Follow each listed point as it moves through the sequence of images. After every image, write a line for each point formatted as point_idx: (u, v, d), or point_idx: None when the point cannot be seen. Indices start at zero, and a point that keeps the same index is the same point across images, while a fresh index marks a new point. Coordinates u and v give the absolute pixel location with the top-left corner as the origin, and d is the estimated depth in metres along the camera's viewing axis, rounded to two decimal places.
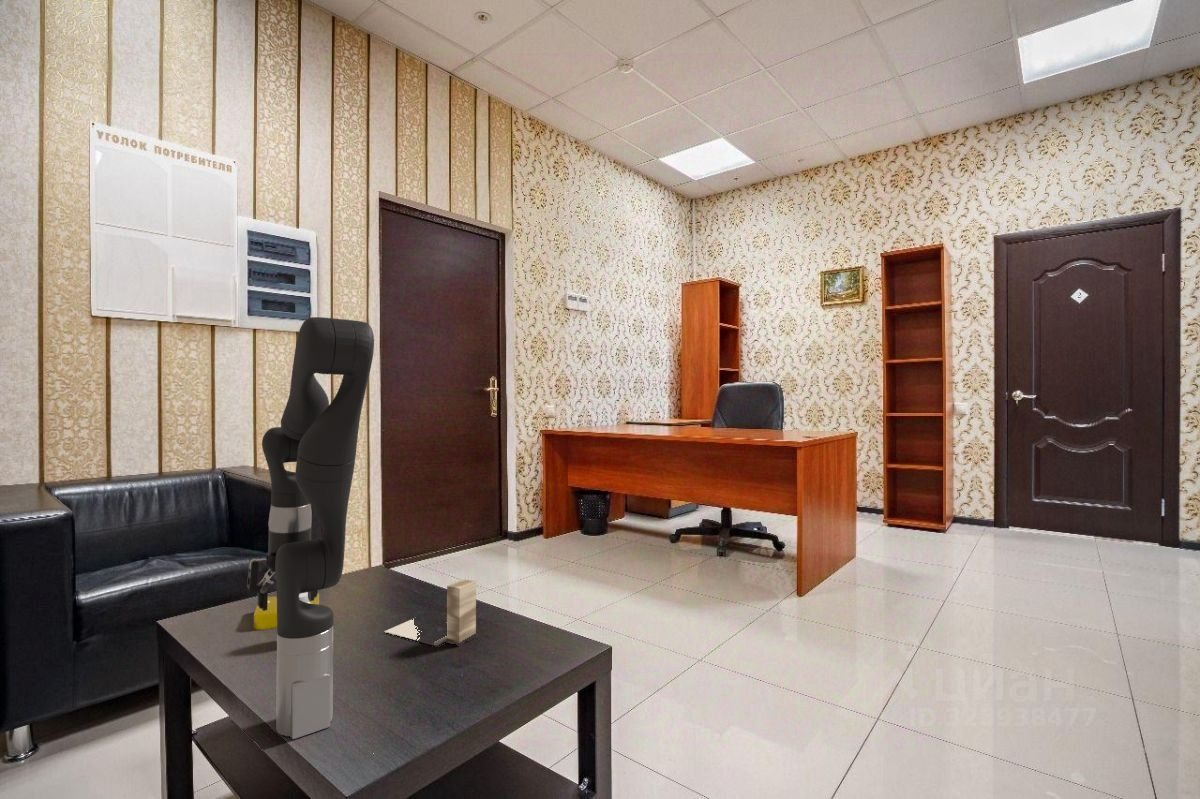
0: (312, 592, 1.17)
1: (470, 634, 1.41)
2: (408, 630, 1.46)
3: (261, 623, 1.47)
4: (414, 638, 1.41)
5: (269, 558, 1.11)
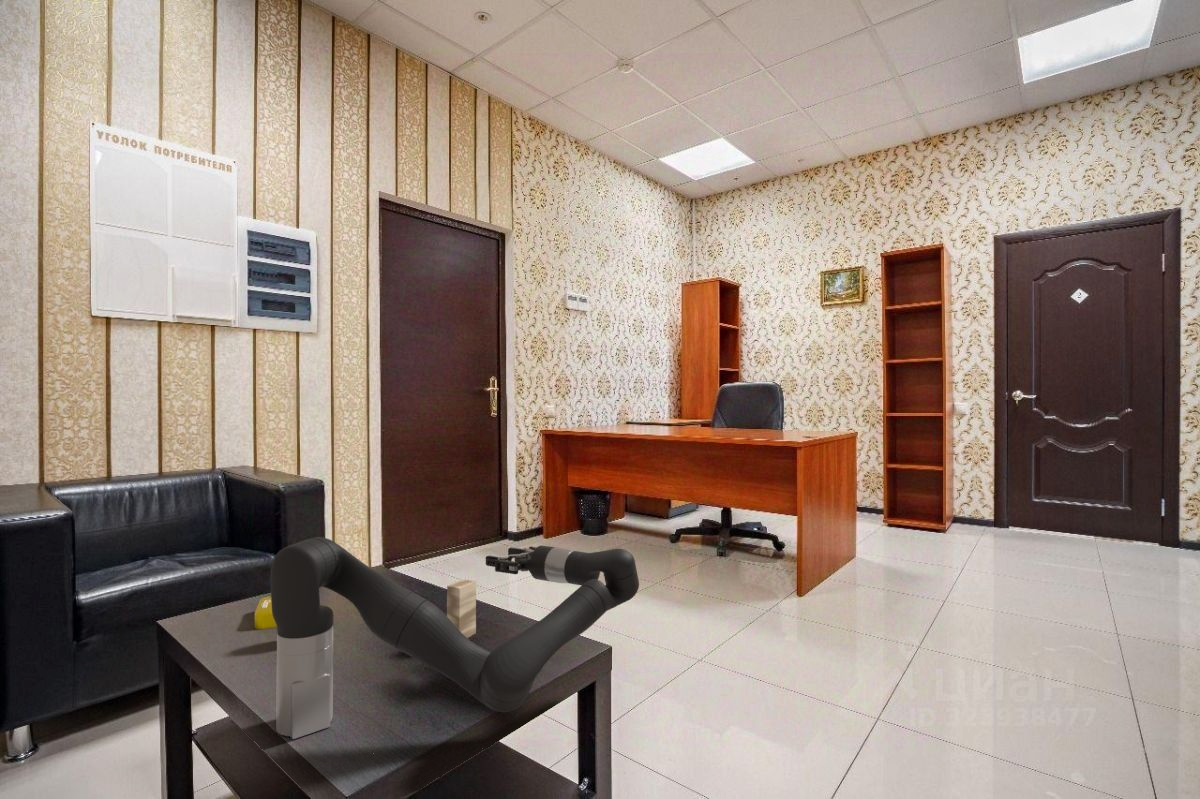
0: None
1: (470, 634, 1.41)
2: None
3: (262, 622, 1.48)
4: None
5: (524, 569, 1.28)
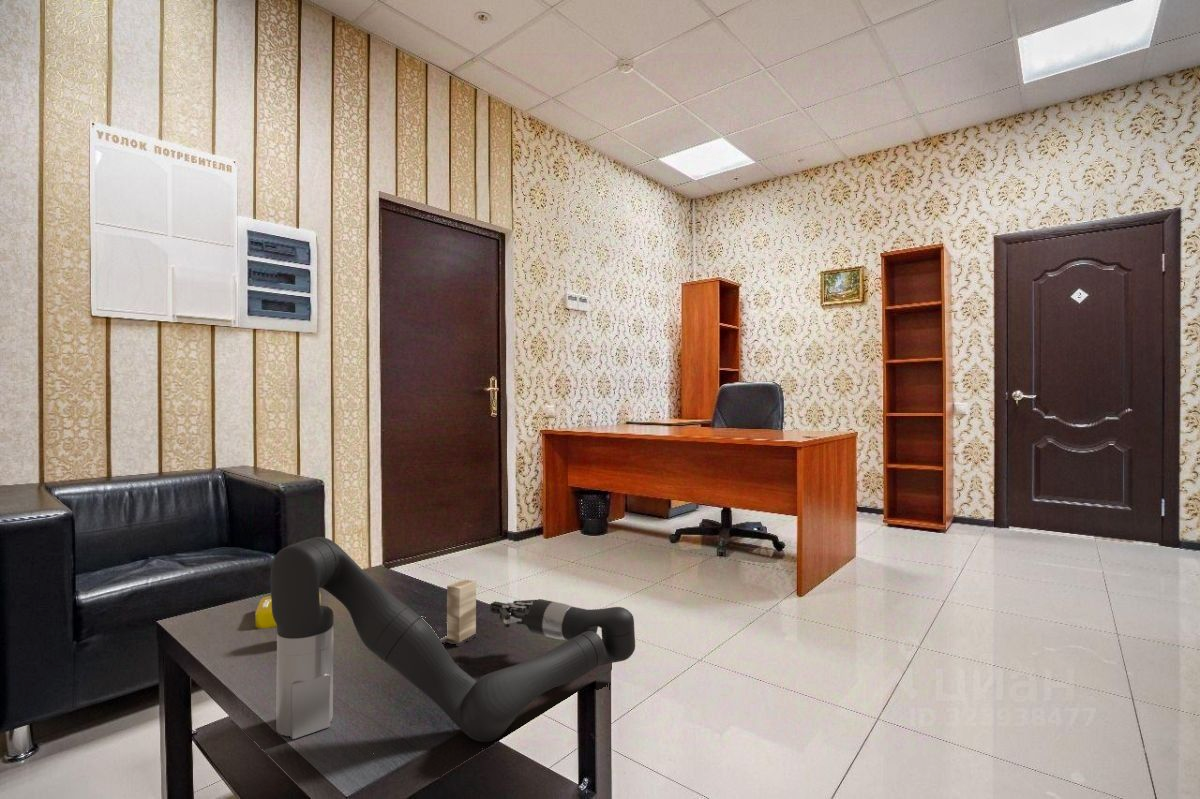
0: None
1: (470, 634, 1.41)
2: None
3: (262, 621, 1.48)
4: None
5: None
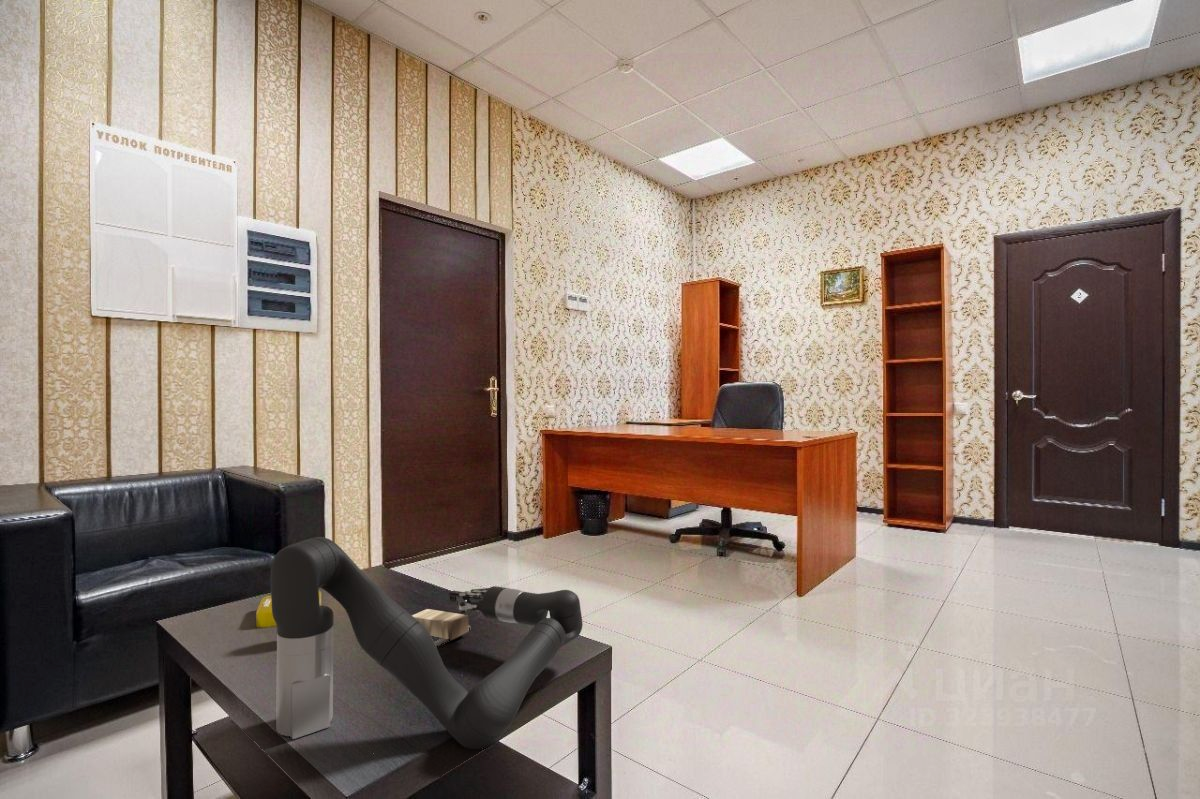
0: None
1: (458, 617, 1.43)
2: None
3: (263, 621, 1.49)
4: None
5: (473, 610, 1.35)
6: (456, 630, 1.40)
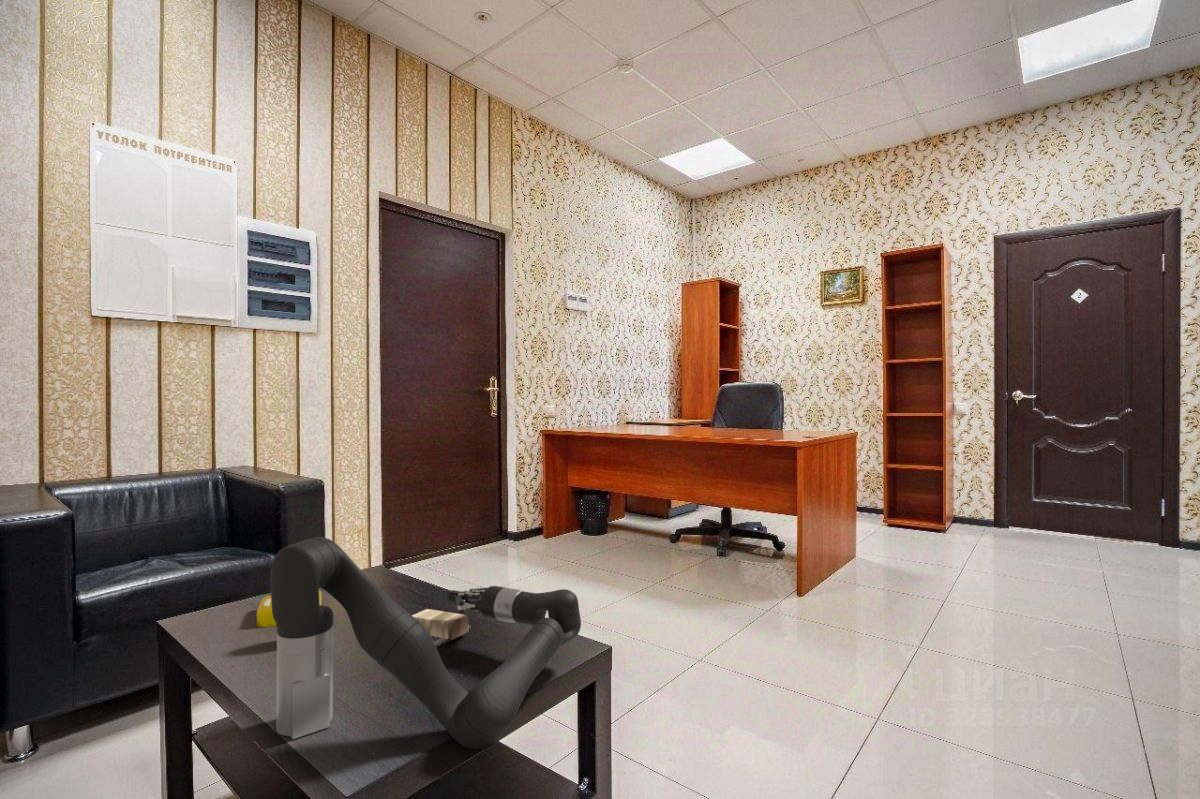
0: None
1: (458, 617, 1.43)
2: None
3: (264, 620, 1.49)
4: None
5: (472, 609, 1.35)
6: (456, 630, 1.40)
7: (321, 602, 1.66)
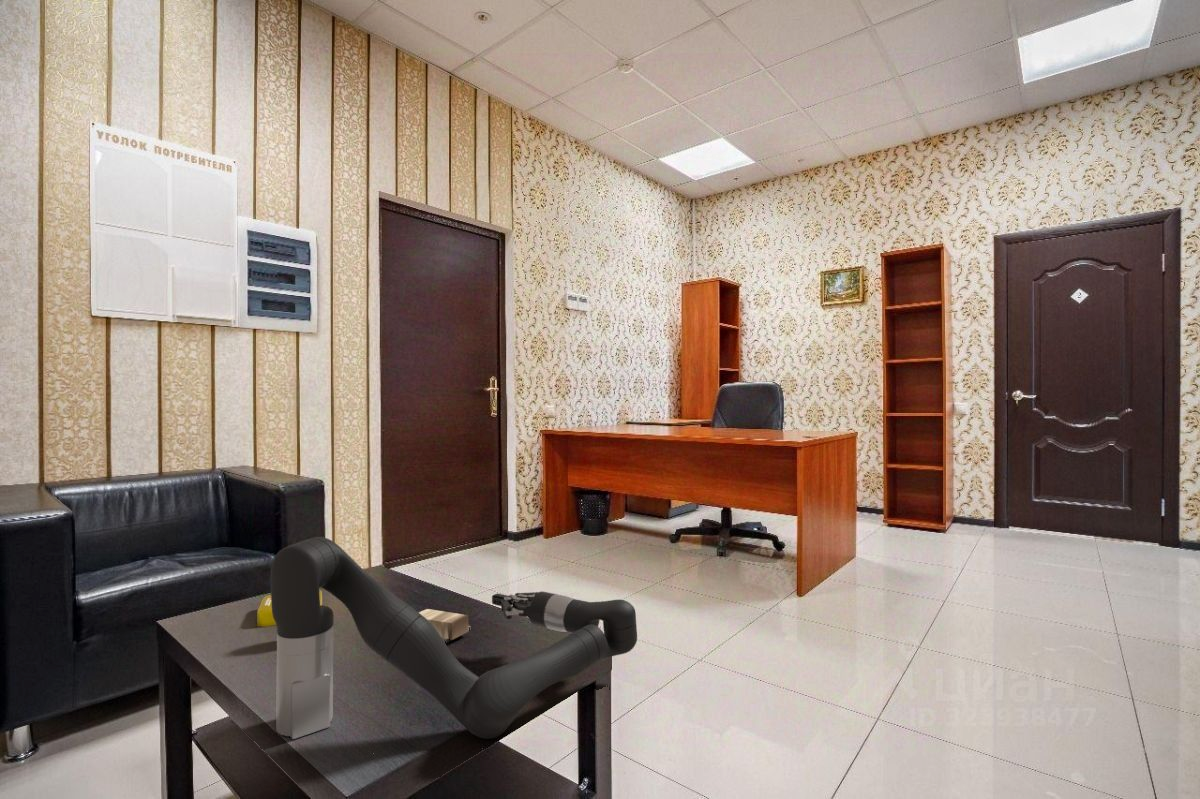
0: None
1: (458, 617, 1.43)
2: None
3: (264, 620, 1.49)
4: None
5: None
6: (456, 630, 1.40)
7: None
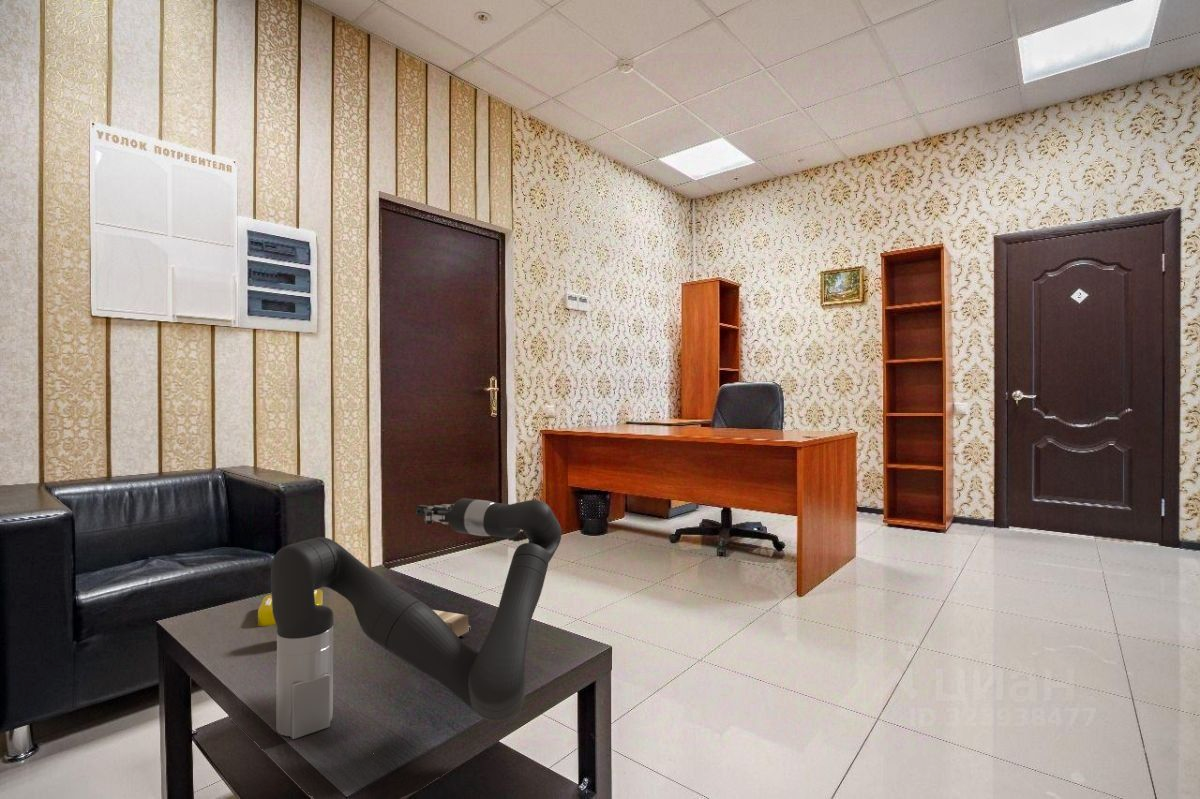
0: None
1: (458, 617, 1.43)
2: None
3: (265, 619, 1.50)
4: None
5: (441, 521, 1.23)
6: (456, 630, 1.40)
7: (322, 601, 1.66)
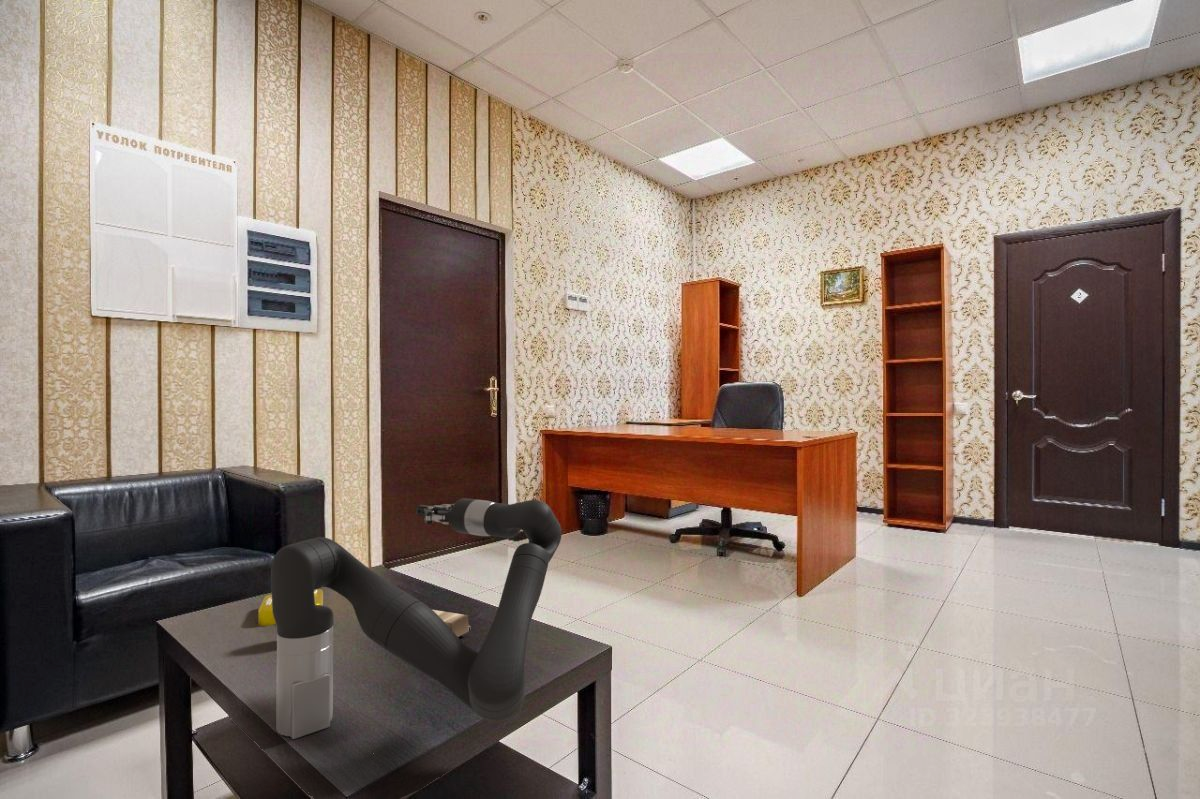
0: None
1: (458, 617, 1.43)
2: None
3: (265, 619, 1.50)
4: None
5: (441, 521, 1.23)
6: (456, 630, 1.40)
7: None
